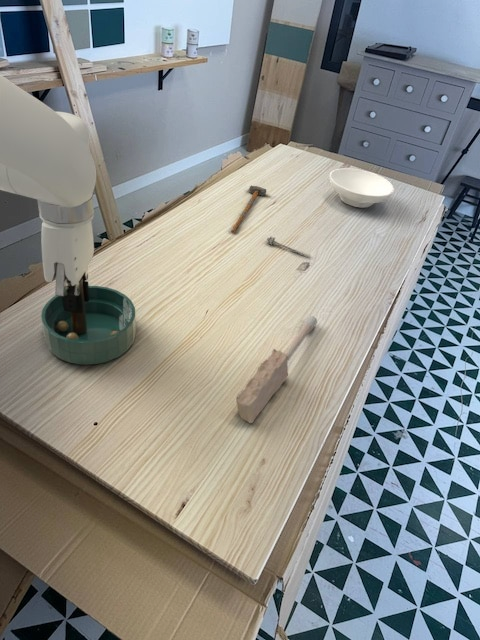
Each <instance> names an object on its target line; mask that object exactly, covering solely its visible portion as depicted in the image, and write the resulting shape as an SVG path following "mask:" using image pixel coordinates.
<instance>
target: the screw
mask: <svg viewBox="0 0 480 640" xmlns="http://www.w3.org/2000/svg"><path fill="white" fill-rule="evenodd" d="M275 239H276V237H274V236H270V237H267V239H266V241H267V244H269V245H270V246H272V245H273V244H277V245H278V246H281V247H283V248H285V249H287V250H290V251H292V252H294V253H296V254H299V255H301V256H303V257H306V258H309V255H307V254H305V253H303V252H300V251H298V250H296V249H294V248H291V247H289V246H286V245H285V244H282V243H280V242H278V241H275Z"/></svg>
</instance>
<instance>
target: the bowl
mask: <svg viewBox="0 0 480 640" xmlns="http://www.w3.org/2000/svg"><path fill="white" fill-rule="evenodd" d="M329 183H330V185H331V187H332V189H333V190H334V191H335V192H336V193H337V194H338V195H339V198H340V200H341V201H342V202H343V203H345V204H347V205H348V206H351V207H355V208H363V209H364V208H369V207H371V206H372V205H374V204H378V203H382V202H385V201H386V200H387V199H389V198H390V197H391V196H392V195H393V193H394V191H395V186H394V185H393V184H392V182H390V181H389V180H388V179H386V178H385V177H383V176H382V175H380V174H378V173H377V174H376V173H374V172H372V171H368V170H365V169H360V168H354V167H353V168H352V167H341V168H336V169H333V170H331V171H330V172H329Z"/></svg>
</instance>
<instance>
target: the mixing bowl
mask: <svg viewBox="0 0 480 640" xmlns="http://www.w3.org/2000/svg"><path fill="white" fill-rule="evenodd" d="M89 297H90V299H89V301H88V302H85V313H86V324H87V330H86V332H84V333H82V334H77V335H78V340H74V339H69V338H66V336H67V334H69V333H72V332H73V329H72V320H71V312H68V311H64V309H63V302H62V296H56V295H55V294H54V296H52V297H51V298H50V299H49V300H48V301H46V303H45V304H44V306H43V308H42V310H41V316H40V320H41V325H42V330H43V337H44V341H45V345H46V347H47V349H48V350H49V351H50V352H51V354H52V355H54V356H55V357H56V358H58V359H60V360H62V361H65V362H67V363H69V364H70V363H71V364H77V365H98V364H102V363H106V362H110V361H112V360H114V359H117V358H119V357H120V356H122V355H123V354H125V353H126V352H127V351H128V350H129V349H130V347H131V346H132V345H133V344H134V342H135V340H136V339H135V338H136V333H137V332H136V307H135V305H134V303H133V301H132V300H131V299H130V298H129V297H128V296H127V295H126V294H124V293H123V292H121V291H119V290H117V289H114V288H111V287H107V286H100V285H89ZM59 321H66V322H67V323H68V325H69V328H68V330H67V331H65V332H60V331H58V330H57V327H56V326H57V323H58V322H59ZM113 331H119V332H117V333H116V334H114V335H111V336H110V334H111V332H113ZM73 333H74V332H73Z"/></svg>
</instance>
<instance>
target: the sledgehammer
mask: <svg viewBox="0 0 480 640" xmlns="http://www.w3.org/2000/svg"><path fill="white" fill-rule="evenodd" d="M248 193H249V194H252V196H251V197H250V198H249V200H248V202H247V203H246V206H245V207H244V209H243V211H242V212H241V214H240V215H239V217H238V219H237V220H236V222H235V224H234V226H233V227H232V229H231V233H233V234H235V232H237V231H236V230H237V229H238V227H239V225H240V224H241V222H242V221H243V219H244V218H245V216H246V214H247V213H248V211H249V209H250V208H251V206H252V205H253V203H254V202H255V200H256V199H257V197H258V196H261V197H265V196H266V195H267V189H266V188H263V187H261V186H257V185H250V186H249V188H248Z"/></svg>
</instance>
